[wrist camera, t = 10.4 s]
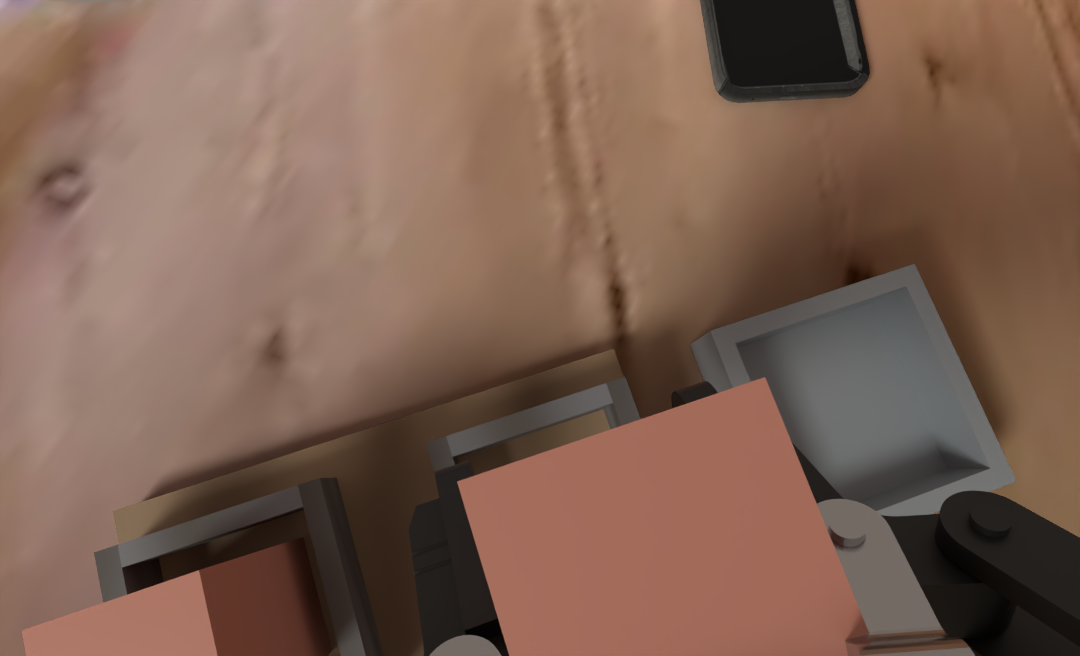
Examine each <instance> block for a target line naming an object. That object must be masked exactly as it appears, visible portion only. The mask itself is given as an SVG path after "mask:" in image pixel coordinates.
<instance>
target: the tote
mask: <svg viewBox="0 0 1080 656" xmlns="http://www.w3.org/2000/svg"><path fill="white" fill-rule="evenodd" d="M690 346H691V349H692V351H693V354H694V356H695V359H696V362H697V364H698V367H699V369H700V372H701V374H702V377H703V380H704V381H707V382H709V383H710V384H711V385H712V386H713V387H714V388H715V389H716V390H717V392H718V393H720V392H722V391H725V390H728V389H731V388H734V387H737V386H740V385H743V384H746V383H749V382H752V381H755V380H758V379H761V378H764V377H765V378H766V381H767V383H768V385H769V388H770V390H771V393H772V395H773V398H774V400H775V403H776V405H777V408H778V410H779V412H780V415H781V417H782V420H783V422H784V425H785V427H786V430H787V432H788V435H789V437H790V439H791V442H792V443H793V444H794V445H795V446H796V447H797V448H798V449H799V450H800V451H801V453H802V454H803V455H804V456H805V457H806V458H807V459H808V460H809V461H810V463H811V464H812V465H813V466H814V467H815V468H816V469H817V470H818V471H819V472H820V474H821V475H822V476H823V477H824V478H825V479H826V480H827V481H828V482H829V483H830V485H831V486H832V487H833V488H834V489H835V490H836V491H837V492H838V493H839V494H840V495H841V496H842V497H843V498H844V499H848V500H852V501H856V502H859V503H862V504H864V505H866V506H869V507H870V508H872V509H873V510H875V511H876V512H878V513H879V514H880V515H884V516H912V515H929V514H932V513H935V512H937V511H940V509H941V506H942V504H943V502H944V501H945V500H946V499H947V498H948V497H950V496H951V495H953V494H956V493H958V492H963V491H972V490H973V491H985V492H990V491H992V490H995V489H998V488H1000V487H1003V486H1005V485H1008V484H1011V483H1013V482H1016V479H1015V476H1014V474H1013V472H1012V470H1011V468H1010V466H1009V464H1008V462H1007V459H1006V457H1005V455H1004V453H1003V451H1002V449H1001V447H1000V445H999V442H998V440H997V438H996V436H995V434H994V432H993V430H992V427H991V425H990V423H989V421H988V419H987V417H986V415H985V413H984V410H983V408H982V406H981V404H980V402H979V400H978V398H977V395H976V393H975V391H974V389H973V387H972V385H971V383H970V381H969V378H968V376H967V374H966V372H965V370H964V368H963V366H962V363H961V361H960V359H959V357H958V355H957V353H956V351H955V349H954V346H953V344H952V342H951V340H950V338H949V336H948V334H947V331H946V329H945V327H944V325H943V323H942V321H941V319H940V317H939V314H938V312H937V310H936V308H935V306H934V304H933V302H932V299H931V297H930V295H929V293H928V291H927V289H926V287H925V285H924V282H923V280H922V278H921V276H920V274H919V272H918V270H917V267H916V265H915V264H912V265H909V266H906V267H903V268H900V269H897V270H894V271H891V272H888V273H885V274H882V275H879V276H876V277H873V278H870V279H867V280H863V281H860V282H857V283H854V284H851V285H848V286H845V287H842V288H839V289H836V290H833V291H830V292H827V293H824V294H821V295H818V296H815V297H812V298H809V299H805V300H802V301H799V302H796V303H793V304H790V305H787V306H784V307H781V308H778V309H775V310H772V311H769V312H766V313H763V314H760V315H757V316H754V317H751V318H747V319H744V320H741V321H738V322H735V323H732V324H729V325H726V326H723V327H720V328H717V329H714V330H711V331H709V332H708V333H706V334H705V335H703V336H702V337H700V338H699V339H697V340H696V341H695V342H693V343H692V344H690Z"/></svg>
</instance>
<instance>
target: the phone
mask: <svg viewBox="0 0 1080 656" xmlns="http://www.w3.org/2000/svg"><path fill="white" fill-rule="evenodd" d="M700 3H701V9H702V15H703V21H704V27H705V34H706V40H707V46H708V52H709V58H710V64H711V70H712V76H713V82H714V86H715V89H716V91H717V92H718V93H719V95H720V96H722V97H723V98H724V99H726V100H728V101H731V102H736V103H746V102H765V101H784V100H803V99H822V98H841V97H848V96H851V95H853V94H855V93H856V92H857V91H858V90H859V89H860V88H861V87H862V85H863V84H864V83H865V82H866V81H867V79H868V77H869V74H870V71H869V63H868V59H867V54H866V50H865V45H864V41H863V36H862V32H861V27H860V23H859V18H858V14H857V9H856V5H855V0H700ZM787 95H798V96H787ZM781 96H787V97H781ZM752 99H754V100H752Z"/></svg>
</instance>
